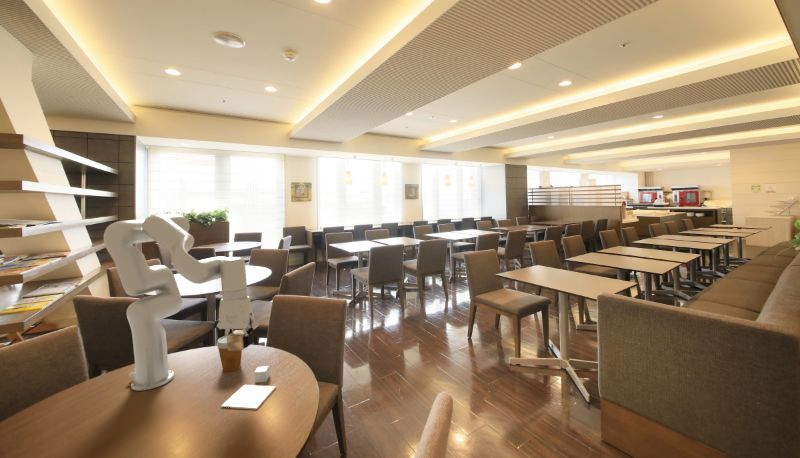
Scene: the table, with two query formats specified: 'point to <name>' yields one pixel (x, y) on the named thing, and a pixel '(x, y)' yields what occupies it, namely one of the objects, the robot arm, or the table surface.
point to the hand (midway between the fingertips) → (239, 345)
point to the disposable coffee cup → (228, 356)
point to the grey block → (262, 374)
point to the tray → (249, 397)
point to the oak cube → (235, 340)
